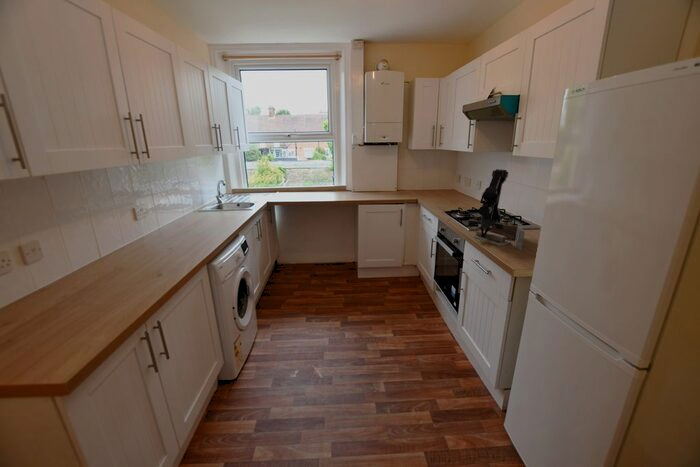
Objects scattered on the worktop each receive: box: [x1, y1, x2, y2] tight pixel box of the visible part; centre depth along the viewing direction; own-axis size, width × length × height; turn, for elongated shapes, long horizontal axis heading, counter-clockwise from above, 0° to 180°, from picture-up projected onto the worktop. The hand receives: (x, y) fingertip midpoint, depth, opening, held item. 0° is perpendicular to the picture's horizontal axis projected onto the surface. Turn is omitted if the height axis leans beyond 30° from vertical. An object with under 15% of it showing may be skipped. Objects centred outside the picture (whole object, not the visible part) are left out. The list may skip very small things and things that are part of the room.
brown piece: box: [476, 223, 526, 251], centre depth 177 cm, size 21×24×10 cm
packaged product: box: [473, 230, 511, 247], centre depth 180 cm, size 18×5×10 cm
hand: (483, 237), depth 179 cm, fingers closed
